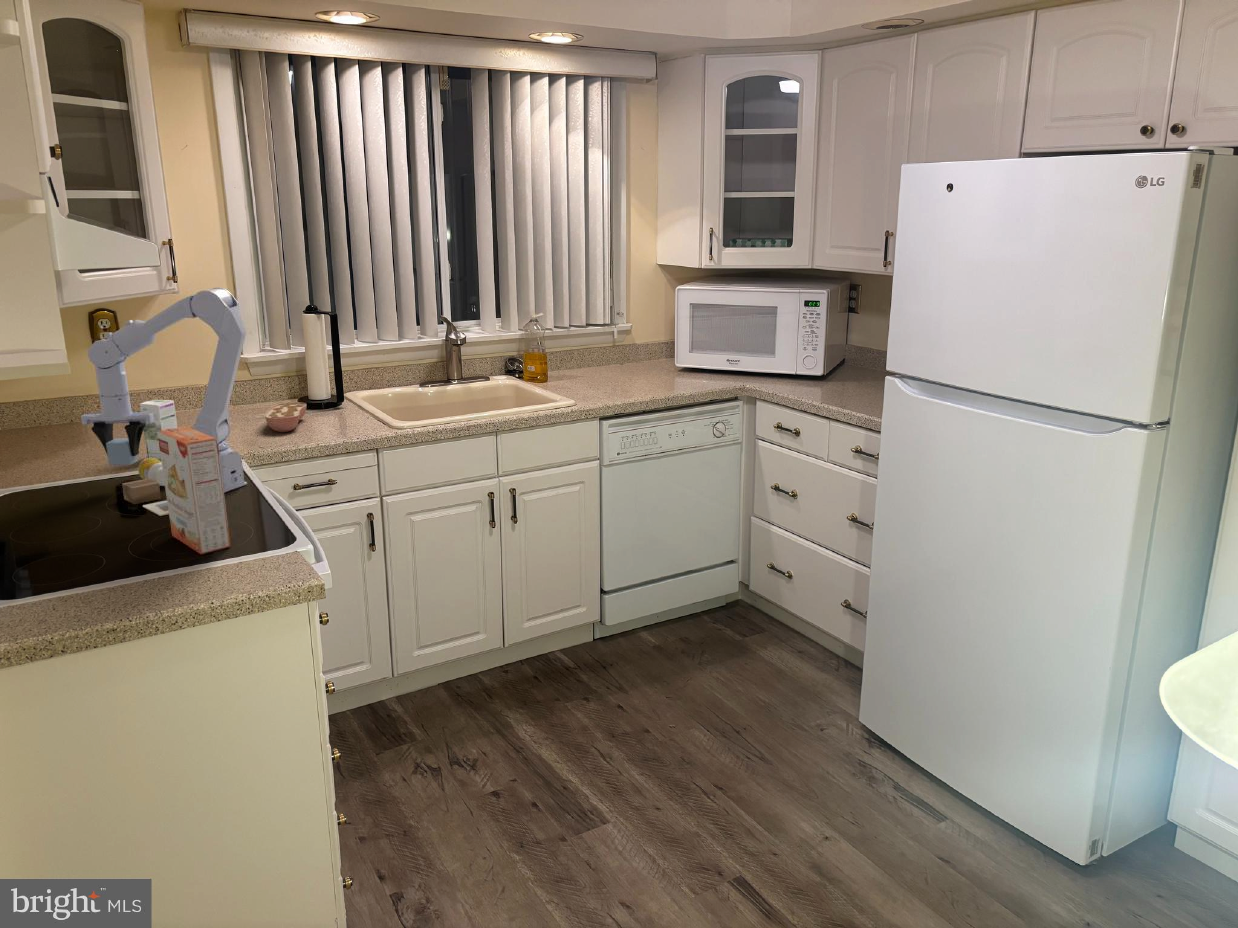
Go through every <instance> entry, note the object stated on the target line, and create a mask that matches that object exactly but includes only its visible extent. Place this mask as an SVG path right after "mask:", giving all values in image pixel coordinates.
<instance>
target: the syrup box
mask: <svg viewBox="0 0 1238 928" xmlns="http://www.w3.org/2000/svg"><path fill="white" fill-rule="evenodd" d="M139 409H140V413H153V415H154V422H152V423H146V425H145V428H144V430H143V434H144V442H145V448H146V456H147V458H156V459H158V460H160V461H161V455H160V448H159V441H158V435H157V432H158V431H161V430H166V429H174V428H178V422H177V416H176V415H177V414H176V413H177V412H176V407H175V401H174V400H170V399H169V400H168V399H166V400H165V399H151V400H147V401H143V402H141V403H139Z"/></svg>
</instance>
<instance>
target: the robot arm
mask: <svg viewBox="0 0 1238 928" xmlns="http://www.w3.org/2000/svg"><path fill="white" fill-rule="evenodd" d="M195 318H198V319H199V320H201V321H202V322H204V323H205V324H206V325H208V326H209V327H210V328H211V329H212V331H213V332H214V333H215V334H216V336H217V337H218V341H217V344H216V350H215V353H214V358H213V361H212V364H211V365H212V366H211V369H210V370H211V371H210V375H209V379H208V383H207V387H206V390H205V396H204V400H203V404H202V407H201V409H200V410H199V412H198V414H197V416H196V419H195V423H194V424H193V425H192V426H191V427H190V428H192V429H194V430H196V431H199V432H201V433H204V434H206V435H208V436H211V437H213V438H216V439H217V441H218V449H219V457H220V466H221V474H222V482H223V490H224V493H226V492H229V491H231V490H235V489H238V488H240V487H243V486H246V485H248V482H247V481H245V476H244V467H243V459H242V456H241V454H240V453H239V452H238V451H235V450H233V449H231V448H230V444H229V442H228V440H227V438H229V436H230V434H231V425H230V422H229V419H230V416H231V415H230V410H229V405H230V401H231V396H232V393H233V388H234V385H235V380H236V378H237V377H236V376H237V373H238V368H239V363H240V360H241V357H242V356H241V355H242V352H243V348H244V343H245V339H246V336H247V335H246V334H247V331H246V328H245V325H244V322H243V319H242V315H241V312H240V303H239V301H238V300H237V299H236V298H235V296H234V295H233V294H232V293H231V292H230V291H229V290H227V289H226V288H224V287H213V288H211V289H208V290H207V289H206V290H200V291H198V292H196V293H195V294H192V295H189V296H186V297H184V298H182V299H180V300H178V301H176V302H175V303H173V304H172V305H170V306H168V307H167V308H164V309H163V310H162V311H160V312H159V313H157V314H156V315H154V316H153V317H150V319H147V320H146V321H144V320H141V319H135V320H134V321H133V320H132V319H130V320H127V321H125V322H124V326H123V327H122V328H120V329H119V330H117V331H114V332H108V333H107V334H106V338H105V339H100V340H95V341H94V342H93V343H92V344H91V345H90V346H89V348H88V351H87V356H88V359H89V361H90V363H92V365H93V366H94V369H95V374H96V375H95V377H96V382H97V383H96V384H97V391H98V396H99V402H100V408H101V412H100V413H85V414H83V415H81V416H80V419H81V425H82V426H84V425H86V426H88V425H92V427H91V431H92V432H93V433H94V435H95V436H96V437H97V438H98V440H99V441H100V443H101V445H102V447H103V449H104V451H105V453H106V456H107V457H108V454H107V447H106V443H107V442H109V441H111V440H113V439H114V424H126V425H124V430H125V432H126V435H127V438H128V439H129V444H130V451H131V455H132V456H136V455H139V452H140V445H141V444H140V443H141V438H142V435H143V434H144V428H145V425H146V423H152V422H154V415H153V413H141V412H136V411H135V412H134V411H132V406H131V399H130V398H131V397H130V392H129V385H128V384H129V383H128V377H127V372H126V366H125V363H126V360H127V359H128V358H130V357H131V356H133V355H135V354H137V353H139V352H140V351H142V350H143V349H145V348H147V347H149V346H150V345H152V344H154V343H155V340H156V336H157V335H156V334H158V333H160V332H162V331H164V330H166V329H167V328H169V327H171V326H173V325H175V324H176V323H178V322H181V321H182V320H185V319H195Z"/></svg>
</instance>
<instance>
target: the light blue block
mask: <svg viewBox="0 0 1238 928" xmlns="http://www.w3.org/2000/svg"><path fill="white" fill-rule="evenodd" d="M106 447H107V453H106V455H107V454H108V456H107V460H108V466H131V465H133V464H135V463H136V462H138V461H139V460H140V457H139V454H138V455H136V456H132V455H131V451H130V444H129V439H128V437H122V438H121V437H120V438H119V437H117V438H116V437H115V438H113V440H111V441H109V442H107V443H106Z"/></svg>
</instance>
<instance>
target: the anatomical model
mask: <svg viewBox="0 0 1238 928" xmlns="http://www.w3.org/2000/svg"><path fill="white" fill-rule="evenodd" d="M306 412H307V403H305V402H299V401H297V402H291V401H290V402H284V403H283V402H282V403H277V404H275V405H273V406H271V407H270V408H268V409H267V410H266V412H265V417H264V418H265V420H266V424H267V425H268V426H269V427H270V429H272V430H273V431H276V432H277V433H288V432H290V431H292V430H293V429H295V428H296V427H297V425H298V424H299V421H300V420H301V419H302V418H303V417H304V416H305V414H306Z"/></svg>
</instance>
